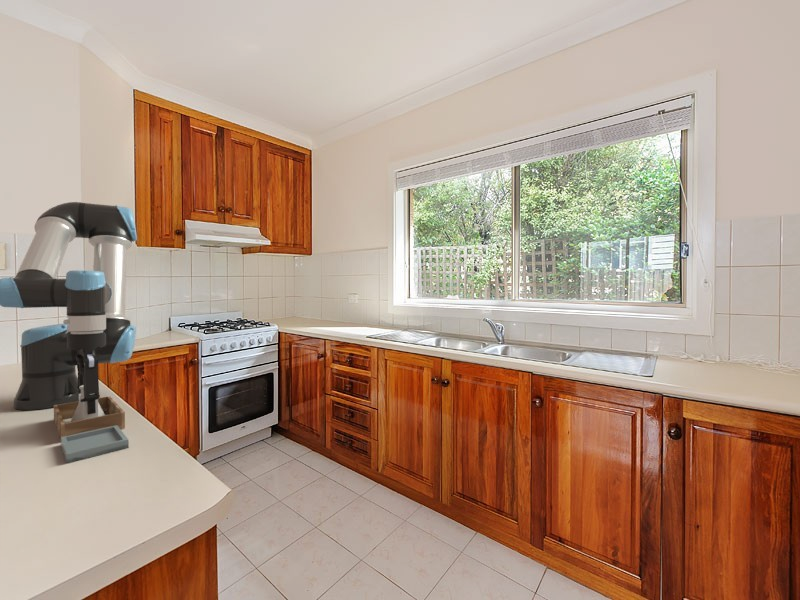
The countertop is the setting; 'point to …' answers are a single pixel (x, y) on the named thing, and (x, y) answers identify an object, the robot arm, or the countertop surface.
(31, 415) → the countertop surface
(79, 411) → the flask
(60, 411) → the caddy
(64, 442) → the tray
